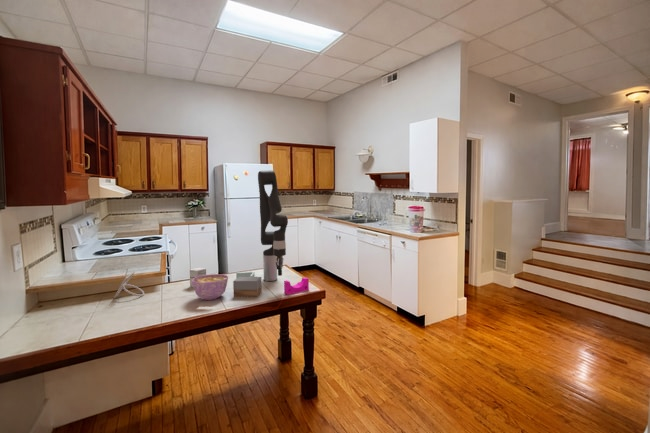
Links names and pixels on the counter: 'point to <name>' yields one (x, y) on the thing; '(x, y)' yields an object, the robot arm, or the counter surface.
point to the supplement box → (196, 274)
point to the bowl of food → (210, 286)
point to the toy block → (296, 286)
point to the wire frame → (128, 285)
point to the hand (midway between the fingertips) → (280, 275)
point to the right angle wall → (244, 274)
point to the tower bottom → (248, 293)
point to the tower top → (247, 283)
